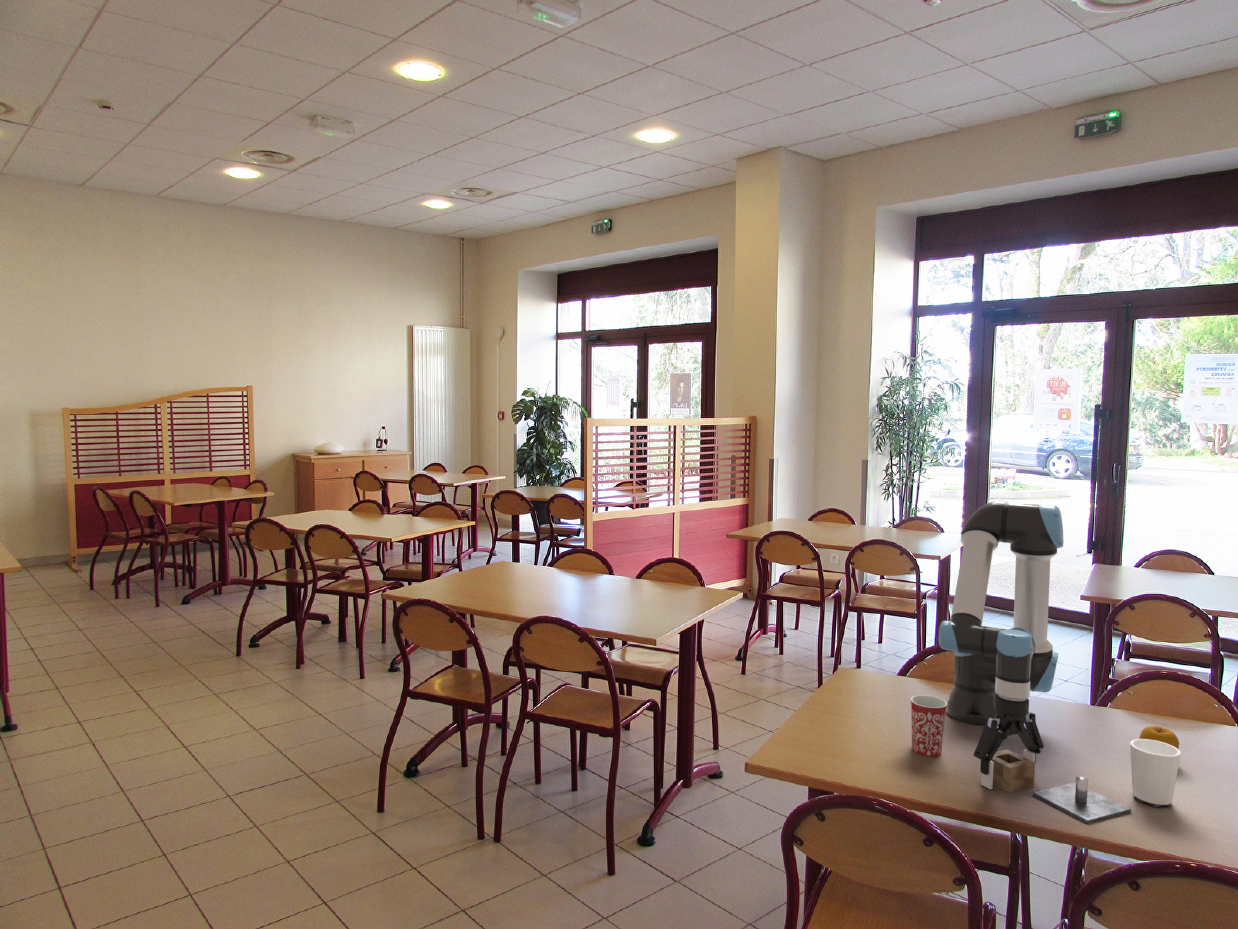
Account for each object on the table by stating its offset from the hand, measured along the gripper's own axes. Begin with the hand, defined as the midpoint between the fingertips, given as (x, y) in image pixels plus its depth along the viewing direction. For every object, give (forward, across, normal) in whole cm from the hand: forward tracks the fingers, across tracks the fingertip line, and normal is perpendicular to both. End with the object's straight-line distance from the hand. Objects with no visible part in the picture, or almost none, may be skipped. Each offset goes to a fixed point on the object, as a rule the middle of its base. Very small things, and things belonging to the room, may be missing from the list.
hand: (1007, 782), depth 196 cm
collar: (0, 0, 0) cm, 0 cm away
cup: (0, -24, +19) cm, 31 cm away
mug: (0, +4, -23) cm, 23 cm away
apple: (0, -47, +5) cm, 47 cm away
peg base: (0, -7, +14) cm, 16 cm away
